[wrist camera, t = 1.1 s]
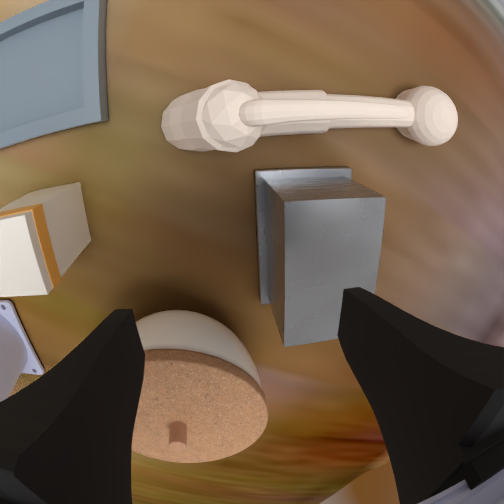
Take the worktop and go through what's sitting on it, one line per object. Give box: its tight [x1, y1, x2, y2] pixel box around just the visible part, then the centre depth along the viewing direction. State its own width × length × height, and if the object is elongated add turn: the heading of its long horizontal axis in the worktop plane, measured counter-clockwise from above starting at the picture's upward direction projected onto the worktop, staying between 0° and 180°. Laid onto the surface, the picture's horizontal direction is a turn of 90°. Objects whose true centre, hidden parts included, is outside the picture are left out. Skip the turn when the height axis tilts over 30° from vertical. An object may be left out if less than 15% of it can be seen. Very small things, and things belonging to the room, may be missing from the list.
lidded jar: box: [132, 310, 268, 463], centre depth 19 cm, size 11×11×9 cm
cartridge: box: [0, 182, 91, 297], centre depth 15 cm, size 4×4×7 cm
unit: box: [254, 166, 386, 347], centre depth 18 cm, size 6×9×6 cm, turn 3°
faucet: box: [161, 79, 458, 152], centre depth 15 cm, size 4×18×10 cm, turn 95°
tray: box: [0, 0, 109, 149], centre depth 13 cm, size 15×9×2 cm, turn 93°
